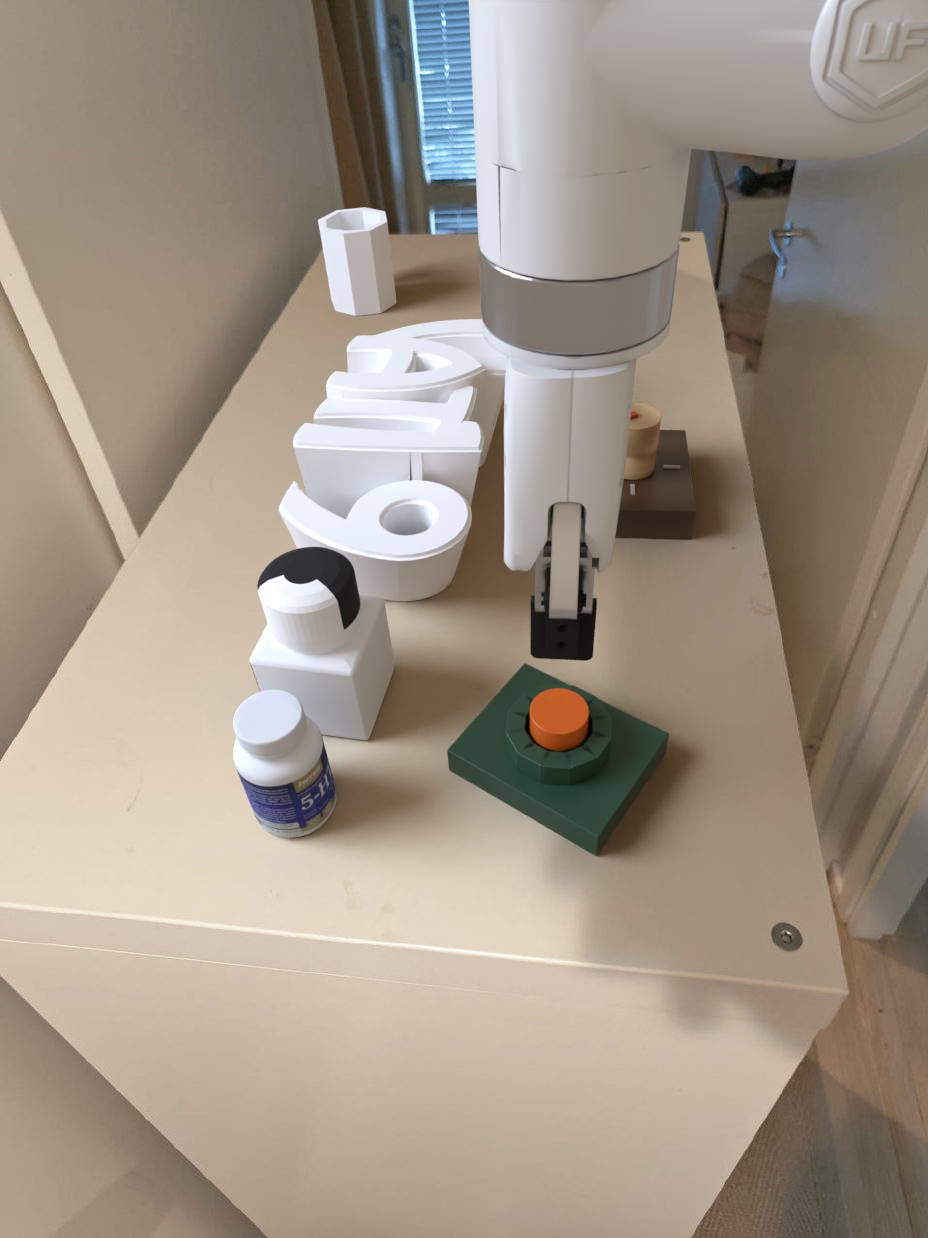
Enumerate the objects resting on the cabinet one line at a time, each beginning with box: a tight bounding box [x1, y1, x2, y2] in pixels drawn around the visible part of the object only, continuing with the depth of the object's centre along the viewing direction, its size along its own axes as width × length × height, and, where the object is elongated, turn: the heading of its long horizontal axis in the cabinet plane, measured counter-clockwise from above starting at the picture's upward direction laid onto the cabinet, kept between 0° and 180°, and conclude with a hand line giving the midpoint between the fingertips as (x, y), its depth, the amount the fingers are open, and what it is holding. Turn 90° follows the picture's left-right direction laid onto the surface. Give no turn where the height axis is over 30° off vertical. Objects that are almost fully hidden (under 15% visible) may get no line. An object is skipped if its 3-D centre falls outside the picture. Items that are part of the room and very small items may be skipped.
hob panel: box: [615, 429, 697, 540], centre depth 74 cm, size 12×10×3 cm
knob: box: [624, 402, 662, 480], centre depth 71 cm, size 4×4×5 cm
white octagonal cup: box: [317, 207, 397, 317], centre depth 104 cm, size 12×9×10 cm
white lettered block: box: [278, 318, 506, 602], centre depth 73 cm, size 35×16×10 cm, turn 167°
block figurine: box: [249, 547, 396, 741], centre depth 56 cm, size 7×7×12 cm
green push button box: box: [446, 663, 670, 857], centre depth 54 cm, size 11×9×4 cm
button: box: [530, 688, 589, 751], centre depth 52 cm, size 4×4×2 cm
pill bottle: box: [232, 690, 338, 839], centre depth 51 cm, size 5×5×9 cm
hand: (563, 616), depth 46 cm, fingers open, 4 cm apart
